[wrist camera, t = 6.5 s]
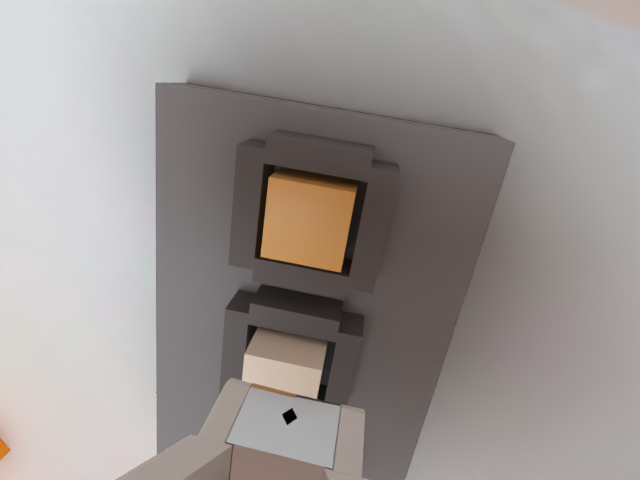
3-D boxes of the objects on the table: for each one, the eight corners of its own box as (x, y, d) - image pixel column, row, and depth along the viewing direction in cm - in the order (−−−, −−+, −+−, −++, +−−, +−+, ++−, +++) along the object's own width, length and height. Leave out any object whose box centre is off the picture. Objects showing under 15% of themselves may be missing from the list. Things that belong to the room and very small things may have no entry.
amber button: (358, 179, 18) (355, 192, 16) (345, 251, 20) (340, 272, 18) (281, 166, 19) (268, 177, 16) (273, 237, 20) (260, 256, 18)
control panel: (496, 135, 20) (531, 150, 15) (388, 484, 29) (390, 560, 25) (185, 83, 21) (130, 82, 16) (177, 435, 30) (141, 499, 26)
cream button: (328, 339, 20) (322, 370, 18) (317, 394, 22) (310, 430, 19) (258, 324, 21) (244, 353, 18) (252, 380, 22) (238, 413, 20)
